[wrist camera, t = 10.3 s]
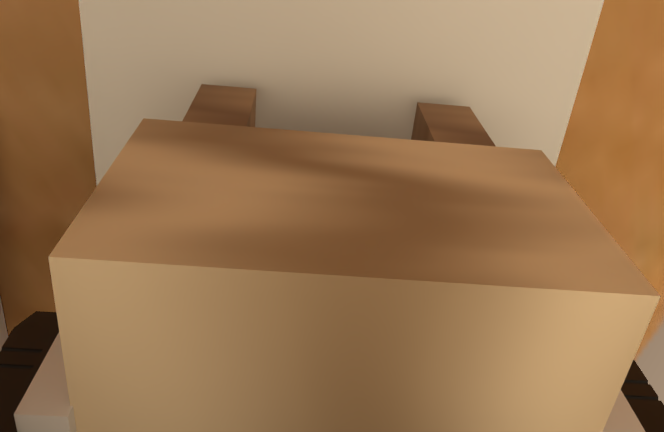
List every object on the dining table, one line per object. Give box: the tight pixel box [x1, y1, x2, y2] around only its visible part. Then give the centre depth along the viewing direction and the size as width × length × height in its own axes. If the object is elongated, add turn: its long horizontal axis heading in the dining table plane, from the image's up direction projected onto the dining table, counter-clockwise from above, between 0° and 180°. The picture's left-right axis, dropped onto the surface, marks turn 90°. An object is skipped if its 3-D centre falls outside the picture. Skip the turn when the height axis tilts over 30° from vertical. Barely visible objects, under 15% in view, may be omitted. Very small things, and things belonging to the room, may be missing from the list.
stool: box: [48, 84, 661, 432], centre depth 14 cm, size 8×8×9 cm
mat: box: [79, 0, 604, 185], centre depth 20 cm, size 14×14×1 cm
